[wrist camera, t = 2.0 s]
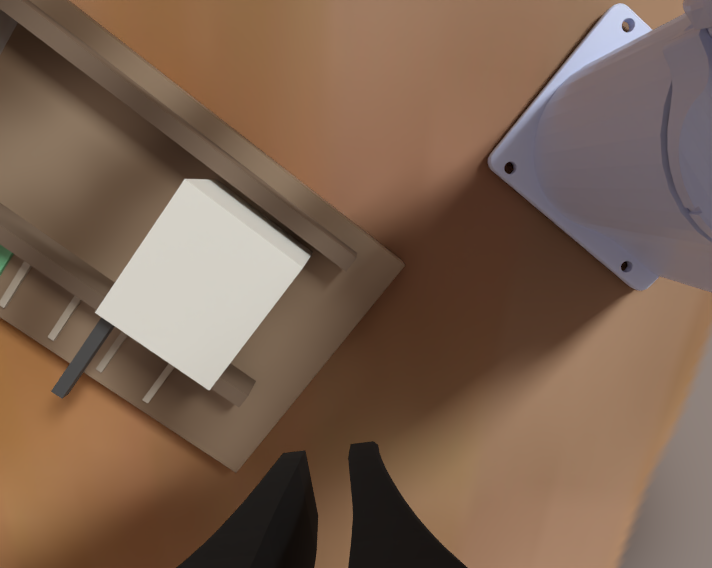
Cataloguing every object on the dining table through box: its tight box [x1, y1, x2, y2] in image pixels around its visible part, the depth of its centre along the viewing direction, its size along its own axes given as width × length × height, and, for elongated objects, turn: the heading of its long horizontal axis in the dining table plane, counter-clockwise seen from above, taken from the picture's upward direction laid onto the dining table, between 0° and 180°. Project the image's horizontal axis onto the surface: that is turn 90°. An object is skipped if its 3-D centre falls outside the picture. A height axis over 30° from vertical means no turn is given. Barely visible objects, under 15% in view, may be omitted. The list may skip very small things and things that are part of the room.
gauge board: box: [0, 0, 405, 473], centre depth 18 cm, size 22×13×5 cm, turn 52°
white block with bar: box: [51, 179, 313, 398], centre depth 18 cm, size 5×10×4 cm, turn 142°
